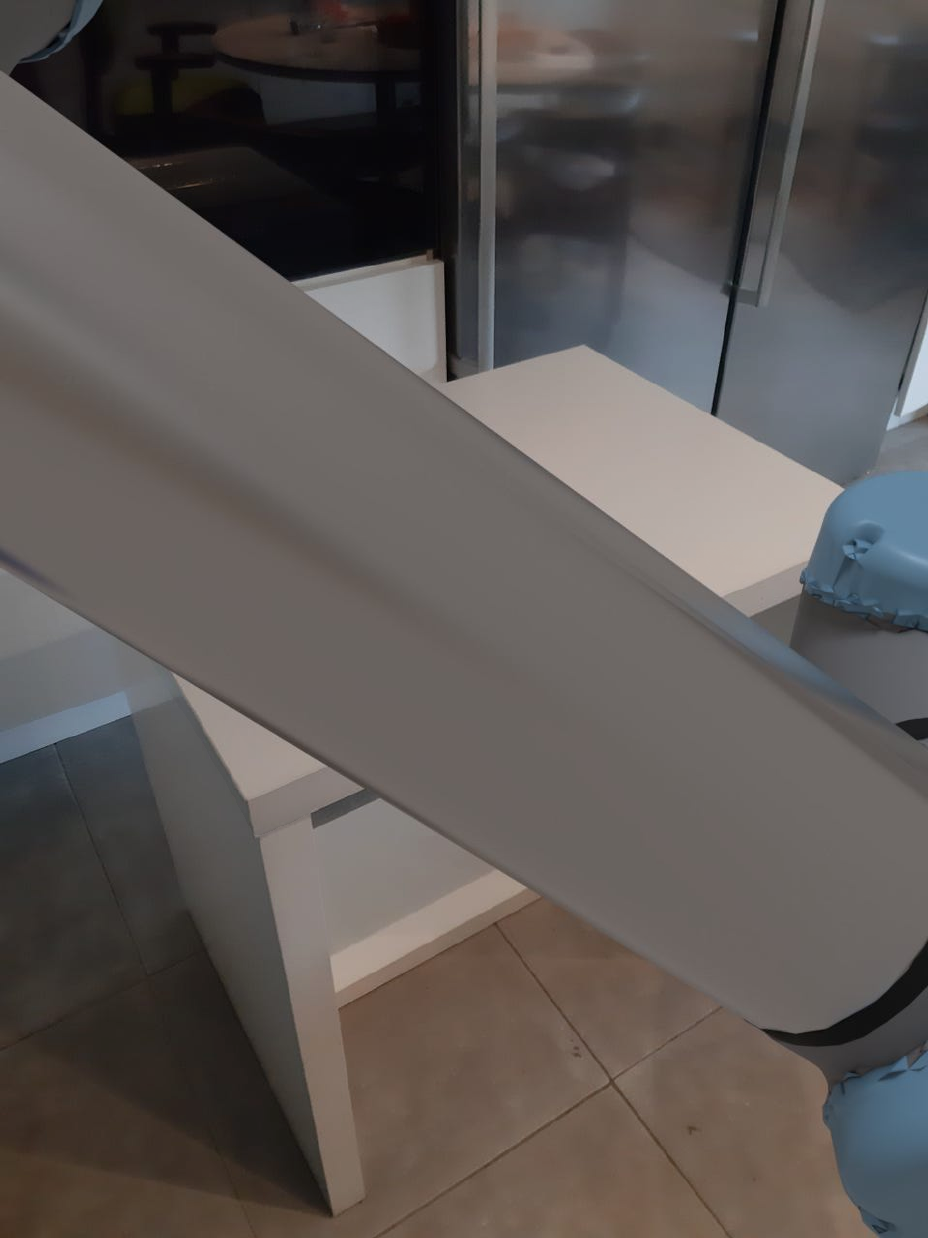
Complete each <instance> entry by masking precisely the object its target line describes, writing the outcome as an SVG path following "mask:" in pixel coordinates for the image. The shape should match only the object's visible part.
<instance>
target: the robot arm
mask: <svg viewBox="0 0 928 1238" xmlns="http://www.w3.org/2000/svg"><path fill="white" fill-rule="evenodd" d="M103 1H104V0H0V569H2V570H3V571H5V572H7V573H8V574H10V575H12V576H13V577H15V578H16V579H18V580H20V581H22V582H23V583H25V584H27V585H28V586H30V587H31V588H33V589H34V590H36V591H38V592H40V593H41V594H43V595H45V596H46V597H48V598H50V599H51V600H53V601H55V602H56V603H58V604H59V605H61V606H62V607H65V608H66V609H68V610H69V611H71V612H72V613H74V614H76V615H77V616H79V617H80V618H82V619H84V620H86V621H88V622H89V623H91V624H93V626H96V627H98V628H99V629H101V630H103V631H104V632H106V633H107V634H109V635H110V636H112V637H114V638H115V639H117V640H119V641H120V642H122V643H123V644H125V645H127V646H129V647H130V648H132V649H134V650H135V651H137V652H138V653H140V654H141V655H144V656H145V657H146V658H148V659H150V660H151V661H153V662H155V663H157V664H158V665H160V666H161V667H164V668H165V669H167V670H168V671H170V672H172V673H173V674H175V675H176V676H178V677H180V678H181V679H183V680H184V681H186V682H187V683H190V684H192V685H193V686H194V687H196V688H198V689H200V691H203V692H205V693H206V694H208V695H210V696H212V697H213V698H215V699H216V700H218V701H219V702H221V703H222V704H224V705H226V706H227V707H229V708H231V709H232V710H234V711H236V712H237V713H239V714H240V715H242V716H244V717H246V718H247V719H249V720H251V721H252V722H254V723H256V724H257V725H259V726H260V727H262V728H264V729H266V730H267V731H269V732H270V733H272V734H273V735H276V736H277V737H278V738H280V739H282V740H283V741H285V742H287V743H289V744H290V745H292V746H294V747H295V748H296V749H298V750H300V751H301V752H303V753H305V754H306V755H309V756H310V757H311V758H313V759H315V760H316V761H317V762H319V763H321V764H323V765H325V766H326V767H328V768H330V769H331V770H333V771H334V772H336V773H338V774H339V775H341V776H343V777H345V778H346V779H348V780H349V781H351V782H353V783H354V784H356V785H357V786H359V787H361V788H362V789H364V790H366V791H368V792H369V793H370V794H373V795H374V796H375V797H377V798H379V799H381V800H382V801H384V802H386V803H387V804H389V805H391V806H392V807H394V808H396V809H397V810H399V811H401V812H402V813H403V814H405V815H407V816H408V817H410V818H411V819H414V820H415V821H417V822H419V823H420V824H422V825H423V826H425V827H427V828H428V829H430V830H432V831H433V832H435V833H436V834H438V835H440V836H441V837H443V838H445V839H446V840H448V841H450V842H451V843H453V844H454V845H456V846H458V847H459V848H461V849H463V850H465V851H466V852H468V853H469V854H471V855H473V856H475V857H476V858H478V859H479V860H481V861H482V862H485V863H486V864H488V865H489V866H490V867H493V868H494V869H495V870H497V871H499V872H501V873H502V874H504V875H506V876H507V877H509V878H510V879H512V880H514V881H515V882H517V883H519V884H521V885H522V886H523V887H526V888H527V889H529V890H531V891H532V892H534V893H536V894H537V895H539V896H540V897H542V898H544V899H545V900H547V901H548V902H550V903H552V904H553V905H555V906H557V907H558V908H559V909H562V910H564V911H565V912H567V913H569V914H570V915H572V916H573V917H575V918H576V919H578V920H580V921H581V922H583V923H585V924H586V925H588V926H589V927H591V928H593V929H595V930H596V931H598V932H600V933H601V934H603V935H604V936H606V937H608V938H609V939H612V941H615V942H616V943H618V944H619V945H620V946H622V947H625V948H626V949H628V950H629V951H631V952H633V953H634V954H636V955H638V956H639V957H640V958H642V959H644V960H646V961H647V962H649V963H651V965H654V966H656V967H657V968H659V969H660V970H662V971H664V972H665V973H667V974H668V975H671V976H672V977H674V978H676V979H677V980H679V981H681V982H682V983H684V984H685V985H687V986H689V987H690V988H692V989H694V990H695V991H696V992H698V993H700V994H702V996H703V995H704V996H705V997H706V998H708V999H710V1000H711V1001H714V1002H715V1003H716V1004H719V1005H720V1006H721V1007H723V1008H725V1009H727V1010H728V1011H730V1012H731V1013H733V1014H735V1015H736V1016H738V1017H739V1018H741V1019H742V1020H743V1021H745V1022H746V1023H748V1024H749V1025H752V1026H753V1027H755V1028H757V1029H758V1030H759V1031H762V1032H763V1033H764V1034H765V1035H767V1037H769V1038H770V1039H771V1040H773V1041H774V1042H776V1043H777V1044H778V1045H781V1046H782V1047H784V1048H786V1049H787V1050H789V1051H790V1052H792V1053H794V1054H795V1055H798V1056H800V1057H801V1058H803V1059H805V1060H806V1061H808V1062H810V1063H811V1064H813V1065H814V1066H815V1067H817V1068H818V1069H819V1071H821V1073H822V1074H823V1076H824V1078H825V1081H826V1083H827V1095H826V1098H825V1102H824V1103H823V1104H822V1105H821V1115H822V1121H823V1123H824V1125H825V1126H826V1128H827V1129H828V1130H829V1131H830V1132H829V1133H830V1138H831V1142H832V1147H833V1152H834V1157H835V1162H836V1163H835V1164H836V1168H837V1172H838V1173H837V1174H838V1176H839V1179H840V1182H841V1185H842V1189H843V1191H844V1192H845V1195H846V1196H847V1197H848V1198H849V1200H850V1201H851V1203H852V1204H853V1205H854V1207H856V1209H857V1210H858V1211H859V1214H860V1217H861V1221H862V1223H863V1224H864V1225H865V1226H866V1227H867V1228H868V1229H869V1230H870V1231H871V1232H872V1233H873V1234H874V1235H875V1236H877V1237H878V1238H928V470H921V469H918V470H917V469H915V470H914V469H913V470H896V471H892V472H891V471H890V472H885V473H880V474H875V475H873V476H870V477H867V478H864V479H862V480H860V481H858V482H856V483H854V484H851V485H850V486H848V487H847V488H845V489H844V490H843V491H841V492H840V493H839V494H838V495H837V496H836V497H835V498H834V499H833V500H832V502H831V503H830V504H829V506H828V508H827V509H826V511H825V513H824V516H823V519H822V523H821V526H820V528H819V532H818V535H817V538H816V540H815V543H814V546H813V549H812V551H811V554H810V557H809V560H808V562H807V565H806V567H805V568H803V569H802V571H801V573H800V576H799V583H800V585H802V588H801V592H800V597H799V601H798V605H797V610H796V614H795V618H794V622H793V627H792V631H791V636H790V641H789V644H788V645H787V644H786V643H784V642H783V641H782V640H780V639H779V638H778V637H776V636H775V635H774V634H772V633H770V631H768V630H767V629H765V628H764V627H762V626H761V625H760V624H758V623H757V622H756V621H755V620H753V619H752V618H750V617H749V616H747V615H746V614H745V613H743V612H742V611H741V610H739V609H738V608H737V607H735V606H734V605H732V603H730V602H729V601H727V600H726V599H724V598H723V597H721V596H720V595H719V594H718V593H716V592H715V591H713V590H712V589H710V588H709V587H708V586H707V585H705V584H704V583H703V582H701V581H699V580H698V579H697V578H695V577H694V576H693V575H691V574H690V573H689V572H687V571H686V570H685V569H683V568H682V567H680V566H679V565H677V564H676V563H675V562H673V561H672V560H671V559H669V558H668V557H667V556H665V555H664V554H662V552H660V551H658V550H657V549H656V548H655V547H653V546H652V545H650V544H649V543H648V542H646V541H645V540H644V539H642V538H641V537H640V536H638V535H637V534H636V533H634V532H633V531H631V530H630V529H628V528H627V527H626V526H624V525H623V524H621V523H620V522H619V521H618V520H616V519H615V518H613V517H612V516H611V515H609V514H608V513H607V512H606V511H603V510H602V509H601V508H600V507H598V506H597V505H595V504H594V503H593V502H592V501H590V500H588V499H587V497H584V495H582V494H581V493H579V492H578V491H576V490H575V489H574V488H572V487H571V486H570V485H568V484H567V483H566V482H564V481H563V480H562V479H560V478H559V477H557V476H556V475H555V474H553V473H552V472H551V471H549V470H548V469H547V468H545V467H544V466H542V465H541V464H539V462H537V461H535V460H534V459H533V458H532V457H530V456H529V455H527V454H526V453H524V452H523V451H522V450H520V449H519V448H517V447H516V446H515V445H513V444H512V443H511V442H509V441H508V440H507V439H505V438H504V437H502V436H501V435H500V434H499V433H498V432H496V431H494V430H493V429H492V428H490V427H489V426H488V425H486V424H485V423H484V422H482V421H481V420H479V419H478V418H477V417H475V416H474V415H472V414H471V413H470V412H468V411H467V410H466V409H465V408H463V407H461V406H460V405H459V404H458V403H456V402H454V401H453V400H452V399H451V398H449V397H448V396H446V394H443V392H441V391H439V390H438V389H437V388H435V387H434V386H433V385H432V384H430V383H429V382H427V381H426V380H425V379H423V378H422V377H421V376H419V375H418V374H416V373H415V372H414V371H412V370H411V369H410V368H408V367H407V366H406V365H404V364H403V363H401V362H400V361H399V360H397V359H396V358H395V357H393V356H392V355H390V353H387V352H386V351H385V350H383V349H382V348H381V347H380V346H378V345H377V344H376V343H374V342H373V341H371V340H370V339H368V337H366V336H364V335H363V334H362V333H361V332H359V331H358V330H357V329H355V328H354V327H352V326H351V325H349V324H348V323H347V322H346V321H344V320H343V319H341V318H340V317H339V316H337V314H335V313H333V312H332V311H330V310H329V309H327V308H326V307H325V306H324V305H322V304H321V303H320V302H318V301H317V300H316V299H314V298H312V296H310V295H309V294H308V293H306V292H304V291H303V290H302V289H300V288H299V287H297V285H295V284H294V283H292V282H291V281H290V280H288V279H287V278H285V277H284V276H282V275H281V274H280V273H279V272H277V271H276V270H275V269H273V268H272V267H271V266H269V265H268V264H266V263H264V261H262V260H261V259H259V258H258V257H257V256H256V255H254V254H252V252H249V250H247V249H246V248H245V247H244V246H241V245H240V244H239V243H237V242H236V241H235V240H234V239H232V238H231V237H229V236H228V235H227V234H225V232H222V231H221V230H220V229H219V228H217V227H216V226H214V225H213V224H212V223H210V222H209V221H208V220H206V219H205V218H203V217H202V216H200V215H199V214H198V213H197V212H195V211H194V210H192V209H191V208H190V207H188V206H187V205H185V204H184V203H183V202H182V201H181V200H178V198H177V197H175V196H173V195H172V194H171V193H169V191H166V190H165V189H164V188H163V187H161V186H160V185H158V184H157V183H156V182H154V181H153V180H151V179H150V178H149V177H148V176H146V175H145V174H143V173H142V172H141V171H139V170H138V169H136V168H135V167H134V166H132V165H131V164H130V163H128V162H127V161H126V160H124V159H123V158H121V157H120V156H118V155H117V154H116V153H115V152H113V151H112V150H111V149H109V148H108V147H106V146H105V145H104V144H102V143H101V142H100V141H98V140H97V139H95V138H94V137H93V136H91V135H90V134H89V133H87V132H86V131H84V129H82V128H81V127H79V126H77V125H76V124H75V123H74V122H72V121H71V120H70V119H68V118H67V117H66V116H64V115H63V114H61V113H60V112H59V111H57V110H56V109H55V108H53V107H52V106H50V105H49V104H48V103H46V102H45V101H43V100H42V99H41V98H40V97H38V96H37V95H35V94H34V93H33V92H32V91H30V90H28V89H27V88H26V87H24V86H23V85H22V84H20V83H19V82H17V80H15V79H14V78H12V77H11V76H10V75H11V73H12V71H13V70H14V68H15V67H16V66H17V64H18V65H19V64H25V63H32V62H33V63H34V62H37V61H40V60H44V59H47V58H49V57H51V56H53V55H54V54H56V53H58V52H59V51H60V50H62V49H63V48H65V47H66V46H67V45H68V44H69V43H70V42H71V41H72V39H73V37H74V36H75V35H78V33H79V32H81V31H82V30H83V28H84V27H86V25H87V24H88V23H89V22H90V20H92V18H93V17H94V16H95V14H96V13H97V11H98V9H99V8H100V6H101V4H102V3H103Z"/></svg>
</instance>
